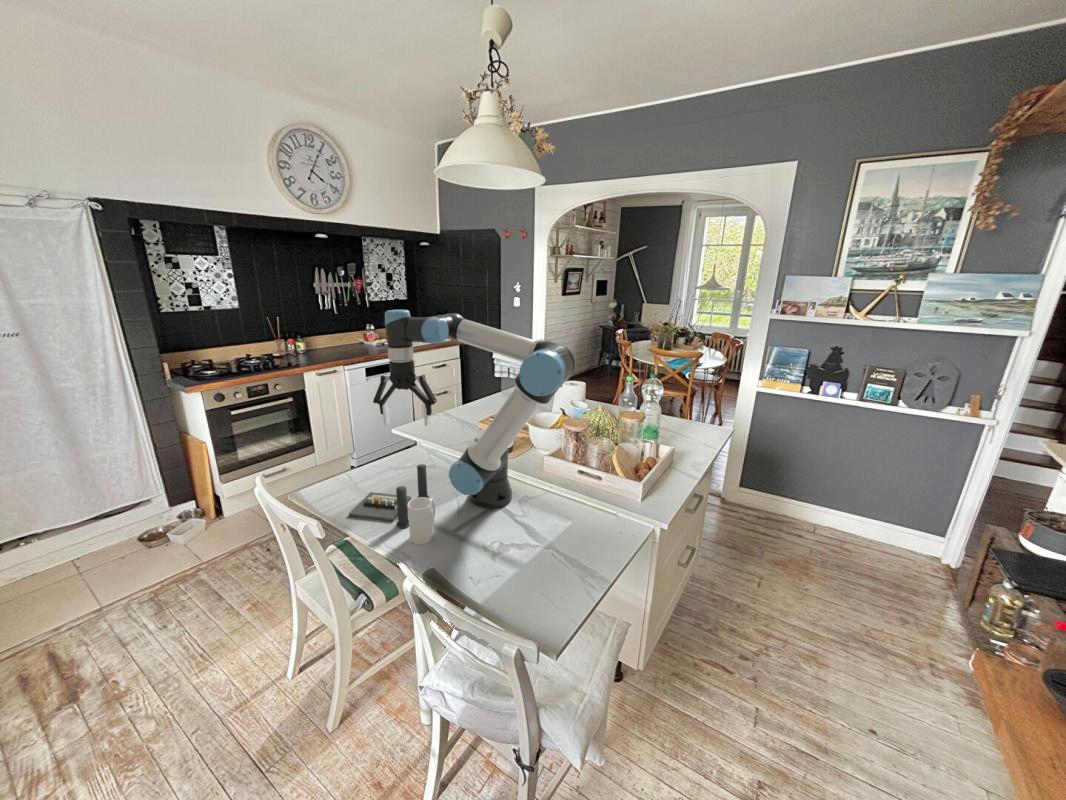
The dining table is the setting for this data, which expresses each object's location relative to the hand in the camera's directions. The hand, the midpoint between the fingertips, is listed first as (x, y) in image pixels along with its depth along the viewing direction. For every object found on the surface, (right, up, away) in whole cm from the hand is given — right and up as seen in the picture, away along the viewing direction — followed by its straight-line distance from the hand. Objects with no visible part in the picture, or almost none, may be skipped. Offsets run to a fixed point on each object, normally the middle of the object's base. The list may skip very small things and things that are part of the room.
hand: (407, 424), depth 138 cm
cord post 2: (+3, -27, +10) cm, 29 cm away
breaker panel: (-10, -28, +4) cm, 30 cm away
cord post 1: (0, -32, -5) cm, 32 cm away
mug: (+8, -34, -10) cm, 36 cm away
